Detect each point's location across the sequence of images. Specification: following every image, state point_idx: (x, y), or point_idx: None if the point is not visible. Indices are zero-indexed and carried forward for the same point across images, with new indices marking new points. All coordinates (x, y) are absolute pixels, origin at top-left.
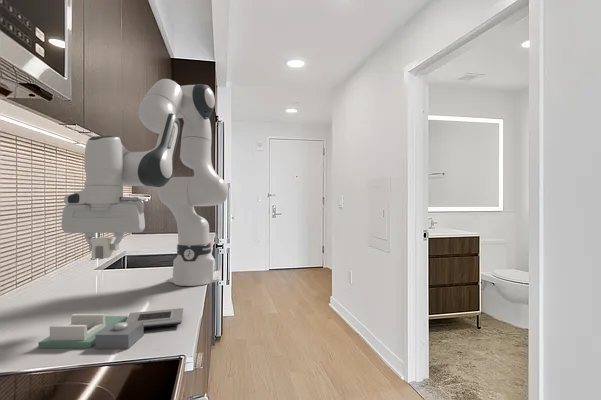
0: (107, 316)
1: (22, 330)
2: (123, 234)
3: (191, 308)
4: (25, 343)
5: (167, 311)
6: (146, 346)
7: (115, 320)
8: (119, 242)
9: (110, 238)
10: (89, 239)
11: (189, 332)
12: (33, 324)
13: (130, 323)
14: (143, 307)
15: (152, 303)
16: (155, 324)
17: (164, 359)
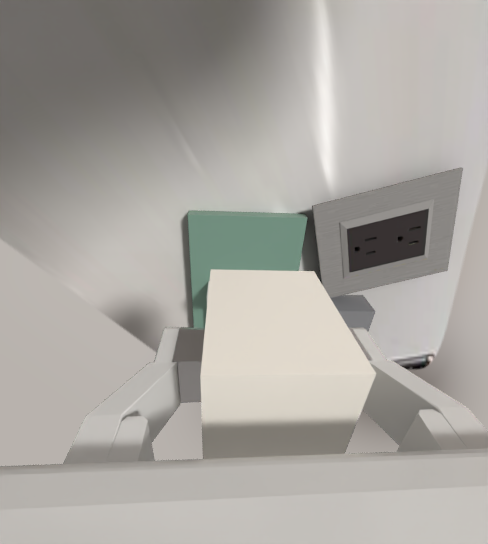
0: (253, 218)
1: (79, 266)
2: (484, 429)
3: (481, 106)
4: (154, 322)
5: (416, 199)
6: (375, 333)
7: (288, 249)
8: (394, 369)
9: (347, 436)
10: (151, 436)
11: (450, 283)
12: (65, 229)
13: (349, 316)
14: (317, 79)
15: (340, 17)
16: (390, 282)
17: (405, 364)
